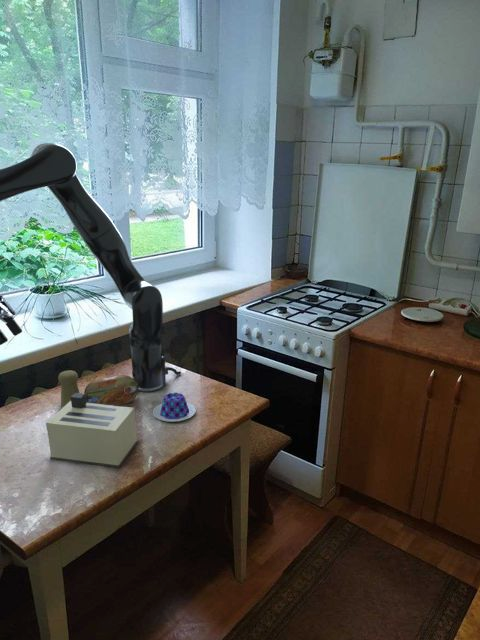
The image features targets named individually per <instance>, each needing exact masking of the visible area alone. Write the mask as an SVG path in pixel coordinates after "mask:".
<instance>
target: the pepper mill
mask: <svg viewBox="0 0 480 640" xmlns="http://www.w3.org/2000/svg"><path fill="white" fill-rule="evenodd" d="M78 374H79V373H77V372H76V371H75V370H71V369H69V370H64V371H62V372H60V373H59V374H58V382H59V384H60V410H61V409H62V408H63V407H64V406H65V405H66V404H67V403H69V402H70V401H71V396H72V395H74V394H75V393H81V392H80V389H79V386H78V381H79V375H78Z"/></svg>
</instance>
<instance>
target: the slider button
mask: <svg viewBox="0 0 480 640" xmlns="http://www.w3.org/2000/svg"><path fill="white" fill-rule="evenodd" d="M71 404H72V407H75V408H83V407H84V406H85V405H86V396H85V394H84V393H82V392H80V393H75V394H74V395H72V396H71Z"/></svg>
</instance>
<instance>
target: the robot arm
mask: <svg viewBox="0 0 480 640" xmlns="http://www.w3.org/2000/svg"><path fill="white" fill-rule="evenodd" d="M77 165H78V164H77V160H76V157H75V156H74V154H73V153H72V152H71V151H70V150H69V149H68V148H67V147H65V146H63V145H61V144H58V143H54V142H53V143H52V142H43V143H39V144H38V145H37V146H35V148H34V149H33V151H32V153H31V156H30V157H28V158H26V159H24V160H22V161H20V162H17V163H16V164H13V165H10V166H6V167H3V168H1V169H0V203H1V202H3V201H5V200H8V199H11V198H13V197H15V196H18V195H21V194H24V193H27V192H31V191H33V190H38V189H42V188H46V187H47V188H48V189H49V190H50V192H51V193H52V194H53V195H54V196H55V198H56V200H58V202H59V203H60V205H61V206H62V208H63V210H64V211H65V213H66V214H67V216H68V218H69V220H70V222H71V224H72V225H73V227H74V229H75V230H76V232H77V233H78V235H79V236H80V238H81V239H82V241H83V242H84V244H85V246H86V247H87V249H89V251H90V253H91V254H92V255H93V256H94V258H95V259H96V260H97V261H98V262H99V264H100V266H101V267H102V268H103V269H104V270H105V272H107V274H108V275H109V277H110V278H111V279H112V281H113V282H114V284H115V286H116V288H117V290H118V292H119V294H120V295H121V296H120V297H122V299H123V301H124V303H125V305H127V307H128V308H129V309H131V311H132V312H131V313H132V323H131V324H130V325H129V327H128V331H129V344H130V357H131V374H132V378H133V379H134V380H135V381H136V383H137V385H138V392H142V393H143V392H144V393H149V392H150V393H151V392H156V391H158V390H161V389H162V388H163V387H164V386H166V385H167V380H166V376H167V375H169V371H170V372H173V373H174V374H175V375H177V376H179V375H181V374H182V372H181V370H179V371H177V369H175V368H174V367H171V366H166V358H165V357H164V356H163V352H162V351H163V349H162V327H163V323H164V311H163V310H164V307H163V306H164V305H163V304H164V303H163V296H162V293H161V291H160V290H159V289H158V287H156V286H155V285H152V284H151V283H149V282H148V281H147V280H146V279H144V277H143V276H142V274H141V273H139V271H138V270H137V268H136V267H135V265H134V264H133V262H132V260H131V258H130V255H129V252H128V249H127V246H126V243H125V240H124V238H123V236H122V235H121V233H120V232H119V230H118V228H117V227H116V226H115V224H114V222H113V221H112V219H111V218H110V217H109V215H108V214H107V213H106V212H105V210H104V209H103V208H102V207H101V206H100V204H98V202H97V201H96V200H95V199H94V198H93V197H92V196H91V195H90V194H89V192H88V191H87V190H86V188H85V187H84V185H83V183H82V182H81V180H80V178H79V177H78V175H77V173H76V171H77V167H78V166H77ZM16 314H17V313H16V311H15V310H14V308H13V307H12V306H11V305H10V303H9V302H8V301H7V299H5V297H4V296H3V294H1V293H0V321H2V322H3V323H4V324H5V326H6V327H7V329H8V330H9V331H10V332H11V334H12V335H13V336H14V337H16V336H18V335H20V334H21V333H23V329H22V328H21V326H20V325H19V323H18V322H17V321H16V320H15V316H16ZM8 341H9V339H8V338H7V336H6V335H5V334H4V332H3V331H2V329H0V346H2V345H4V344H5V343H7V342H8Z"/></svg>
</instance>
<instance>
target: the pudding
mask: <svg viewBox="0 0 480 640" xmlns="http://www.w3.org/2000/svg"><path fill="white" fill-rule="evenodd" d="M196 412H197V409H196V406H195V405H194V404H192V403H190V402H188V401H187V400H186V397H185V396H184V394H183V393H180V392H169V393H167V394H165V395H164V396H163V398H162V403H160V404H158V405H157V406H155V407H154V408H153V410H152V414H153V416H154V417H155V418H156V419H158V420H160V421H164V422H181V421H185V420H188V419H190V418H192V417H194V415H195V414H196Z"/></svg>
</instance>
